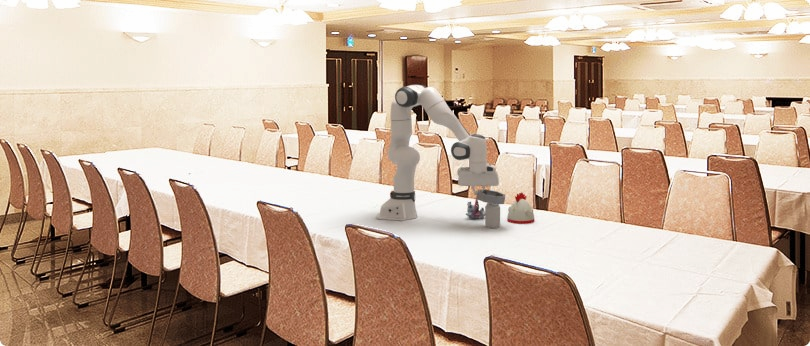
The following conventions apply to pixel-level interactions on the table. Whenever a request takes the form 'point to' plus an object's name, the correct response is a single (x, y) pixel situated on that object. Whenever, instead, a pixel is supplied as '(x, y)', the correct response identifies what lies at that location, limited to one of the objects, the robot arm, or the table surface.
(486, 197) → the steel ring
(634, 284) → the table surface
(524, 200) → the kitchen timer
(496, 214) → the can
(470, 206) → the brake caliper
